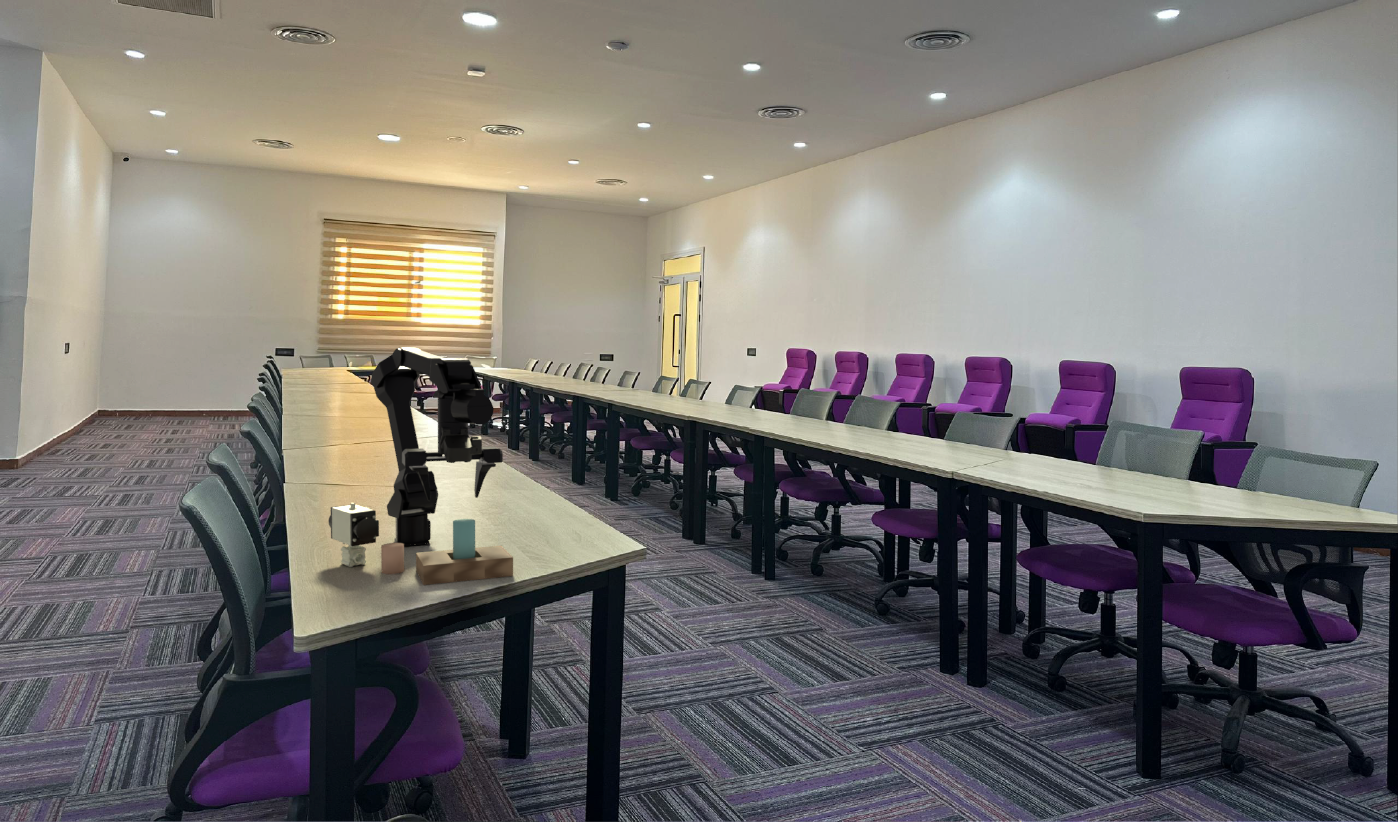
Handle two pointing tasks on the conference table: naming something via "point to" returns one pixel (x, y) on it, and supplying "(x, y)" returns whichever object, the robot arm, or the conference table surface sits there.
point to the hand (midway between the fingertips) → (452, 498)
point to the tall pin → (463, 539)
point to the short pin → (392, 558)
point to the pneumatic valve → (353, 531)
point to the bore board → (463, 565)
